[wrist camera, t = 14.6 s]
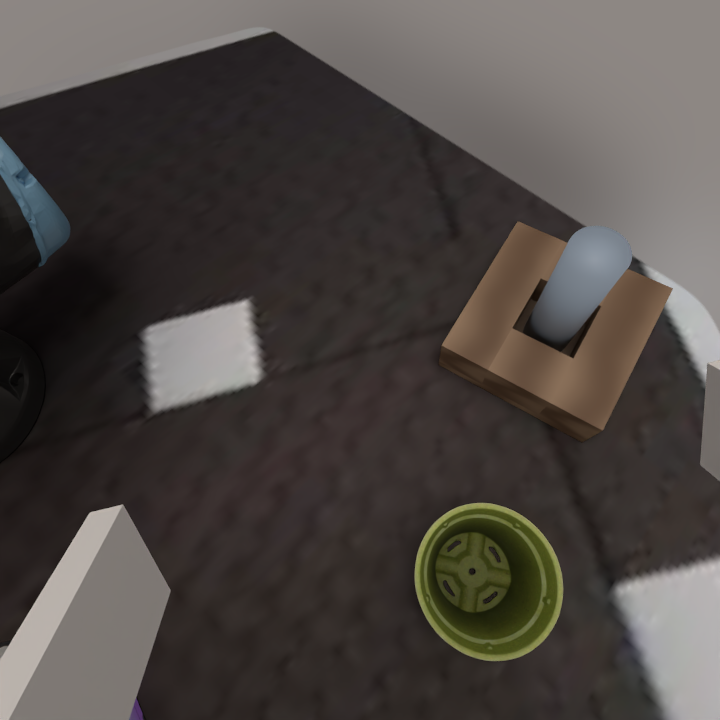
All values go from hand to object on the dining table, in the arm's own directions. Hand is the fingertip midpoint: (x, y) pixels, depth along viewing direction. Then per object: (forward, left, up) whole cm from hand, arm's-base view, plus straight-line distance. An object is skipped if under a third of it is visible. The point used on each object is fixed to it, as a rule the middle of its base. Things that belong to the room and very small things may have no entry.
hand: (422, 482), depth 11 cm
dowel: (+2, +20, -32) cm, 38 cm away
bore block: (+2, +20, -33) cm, 39 cm away
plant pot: (+6, -1, -33) cm, 33 cm away
